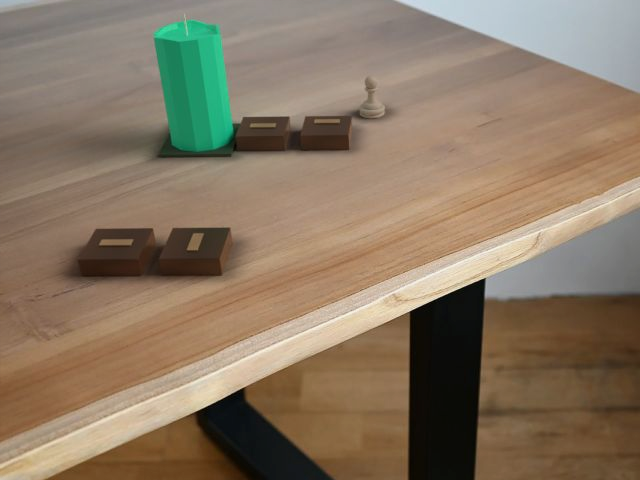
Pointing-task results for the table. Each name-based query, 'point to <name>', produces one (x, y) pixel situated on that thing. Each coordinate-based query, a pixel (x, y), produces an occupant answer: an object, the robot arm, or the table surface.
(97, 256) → the front word
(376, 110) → the pawn
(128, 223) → the table surface
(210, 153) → the mat
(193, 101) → the candle
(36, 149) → the table surface
